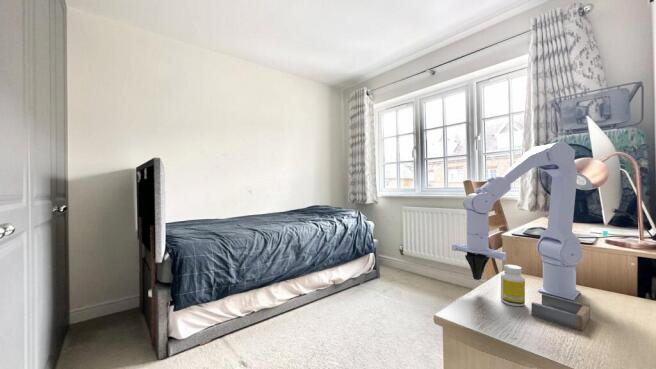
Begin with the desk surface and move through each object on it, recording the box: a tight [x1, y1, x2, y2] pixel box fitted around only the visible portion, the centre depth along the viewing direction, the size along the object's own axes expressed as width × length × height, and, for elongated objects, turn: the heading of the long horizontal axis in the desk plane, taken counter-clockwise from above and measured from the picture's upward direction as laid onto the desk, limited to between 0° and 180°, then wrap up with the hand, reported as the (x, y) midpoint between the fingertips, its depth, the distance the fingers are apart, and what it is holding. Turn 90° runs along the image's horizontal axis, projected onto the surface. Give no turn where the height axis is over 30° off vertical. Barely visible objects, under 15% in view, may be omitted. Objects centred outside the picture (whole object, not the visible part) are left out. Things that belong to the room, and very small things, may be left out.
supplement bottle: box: [500, 264, 526, 307], centre depth 73 cm, size 5×5×10 cm
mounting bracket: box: [530, 293, 591, 332], centre depth 65 cm, size 9×9×3 cm
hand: (477, 278), depth 80 cm, fingers closed
